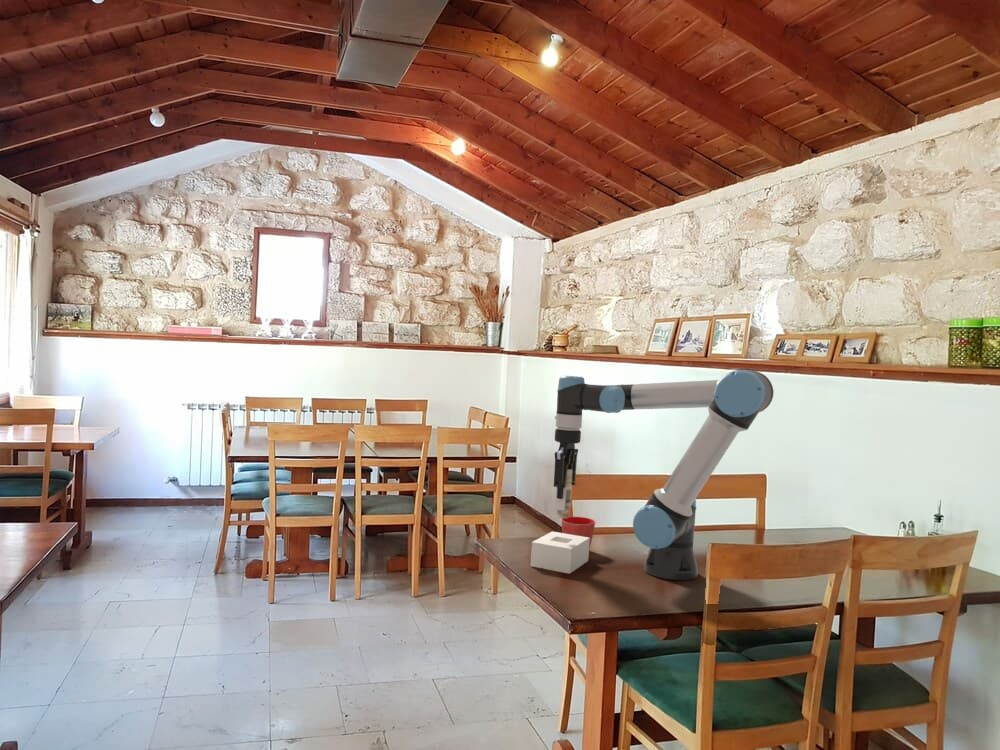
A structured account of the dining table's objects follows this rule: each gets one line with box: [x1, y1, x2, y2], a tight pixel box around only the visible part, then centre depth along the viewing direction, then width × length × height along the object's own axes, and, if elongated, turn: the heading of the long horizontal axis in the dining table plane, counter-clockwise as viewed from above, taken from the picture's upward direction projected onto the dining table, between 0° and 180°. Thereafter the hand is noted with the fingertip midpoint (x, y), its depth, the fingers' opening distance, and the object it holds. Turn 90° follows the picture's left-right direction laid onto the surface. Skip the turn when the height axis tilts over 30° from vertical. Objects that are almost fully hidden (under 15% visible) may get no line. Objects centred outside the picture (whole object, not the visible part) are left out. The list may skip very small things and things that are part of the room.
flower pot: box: [561, 516, 596, 550], centre depth 235 cm, size 11×11×10 cm
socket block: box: [529, 531, 590, 574], centre depth 219 cm, size 12×16×7 cm
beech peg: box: [556, 469, 572, 519], centre depth 219 cm, size 4×4×14 cm
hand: (563, 508), depth 219 cm, fingers closed on beech peg, 4 cm apart
